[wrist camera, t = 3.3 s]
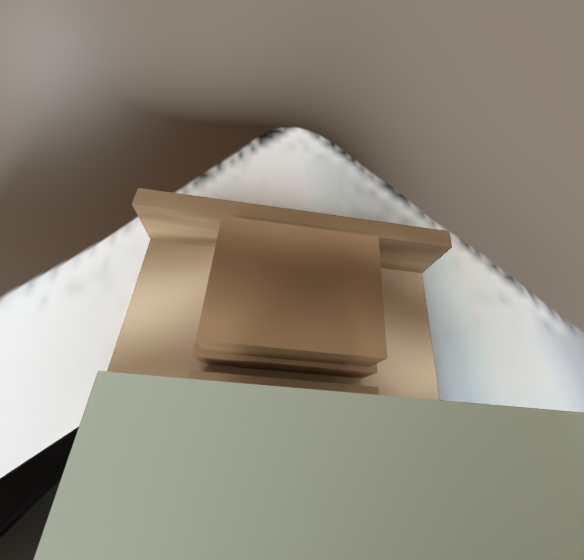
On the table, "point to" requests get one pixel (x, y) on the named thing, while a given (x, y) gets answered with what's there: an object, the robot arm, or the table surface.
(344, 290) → the offcut upper
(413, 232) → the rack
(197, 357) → the offcut lower
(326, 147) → the table surface
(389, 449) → the tall block
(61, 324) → the table surface
